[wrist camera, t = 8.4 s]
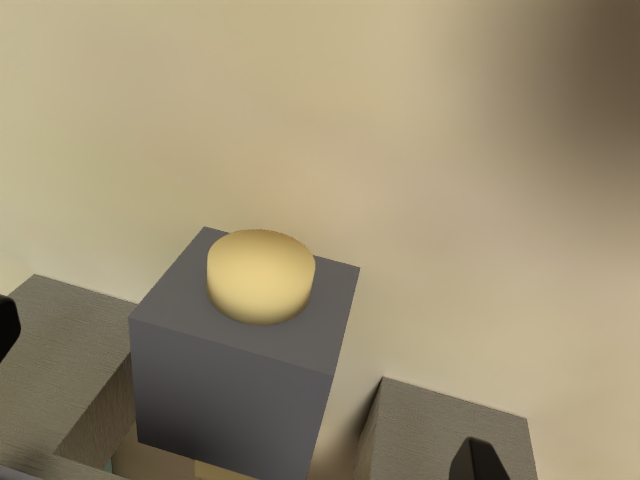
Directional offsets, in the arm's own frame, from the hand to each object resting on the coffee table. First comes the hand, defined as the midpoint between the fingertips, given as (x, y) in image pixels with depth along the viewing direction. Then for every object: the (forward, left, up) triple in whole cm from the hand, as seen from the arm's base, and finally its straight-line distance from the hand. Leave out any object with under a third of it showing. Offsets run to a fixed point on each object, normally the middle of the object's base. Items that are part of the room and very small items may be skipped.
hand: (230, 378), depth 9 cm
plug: (-3, 0, -4) cm, 5 cm away
